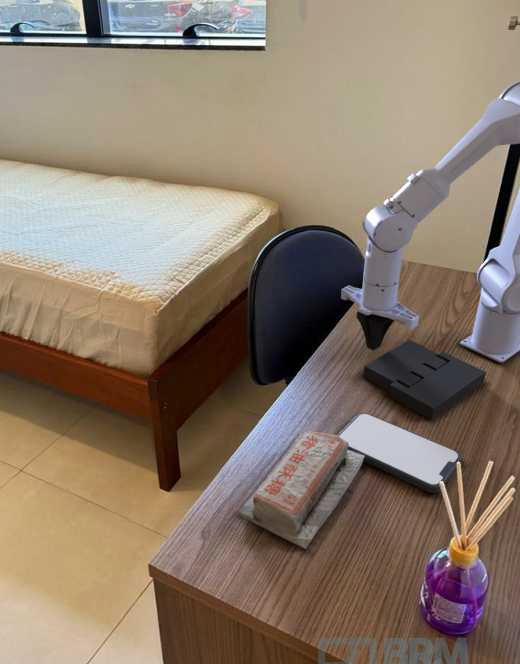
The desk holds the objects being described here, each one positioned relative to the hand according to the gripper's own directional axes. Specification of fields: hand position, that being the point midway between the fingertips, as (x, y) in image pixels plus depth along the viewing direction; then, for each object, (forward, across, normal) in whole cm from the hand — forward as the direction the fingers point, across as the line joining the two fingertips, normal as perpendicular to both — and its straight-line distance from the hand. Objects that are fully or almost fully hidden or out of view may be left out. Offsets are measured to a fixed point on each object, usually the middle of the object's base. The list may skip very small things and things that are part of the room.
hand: (373, 347), depth 107 cm
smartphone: (+2, +18, -17) cm, 25 cm away
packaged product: (+2, +14, -32) cm, 35 cm away
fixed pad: (+2, +13, 0) cm, 13 cm away
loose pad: (+2, +7, 0) cm, 7 cm away
